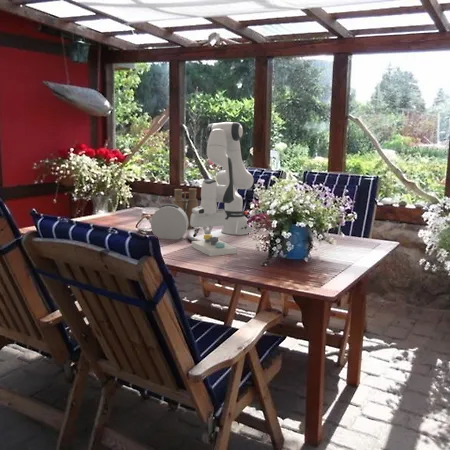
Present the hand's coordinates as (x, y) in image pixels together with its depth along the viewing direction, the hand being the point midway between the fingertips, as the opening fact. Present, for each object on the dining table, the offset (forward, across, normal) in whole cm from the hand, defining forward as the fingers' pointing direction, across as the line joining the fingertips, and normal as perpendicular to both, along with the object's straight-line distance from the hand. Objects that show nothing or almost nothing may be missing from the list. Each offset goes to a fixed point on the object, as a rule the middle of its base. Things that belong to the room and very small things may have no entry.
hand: (207, 234), depth 290 cm
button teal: (+7, 0, +14) cm, 16 cm away
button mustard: (+5, 0, 0) cm, 5 cm away
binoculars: (+7, -11, -54) cm, 56 cm away
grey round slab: (+8, +10, -30) cm, 32 cm away
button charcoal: (+5, 0, +7) cm, 9 cm away
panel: (+7, 0, +7) cm, 10 cm away
